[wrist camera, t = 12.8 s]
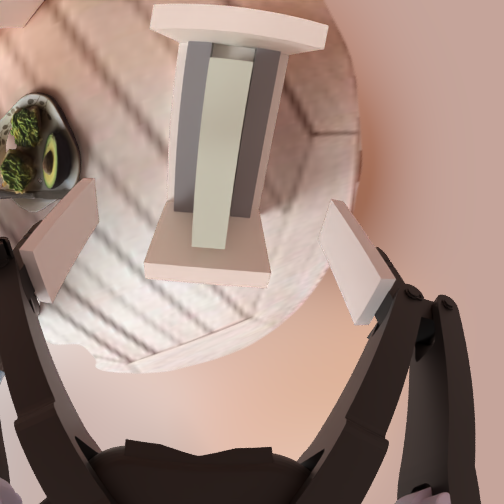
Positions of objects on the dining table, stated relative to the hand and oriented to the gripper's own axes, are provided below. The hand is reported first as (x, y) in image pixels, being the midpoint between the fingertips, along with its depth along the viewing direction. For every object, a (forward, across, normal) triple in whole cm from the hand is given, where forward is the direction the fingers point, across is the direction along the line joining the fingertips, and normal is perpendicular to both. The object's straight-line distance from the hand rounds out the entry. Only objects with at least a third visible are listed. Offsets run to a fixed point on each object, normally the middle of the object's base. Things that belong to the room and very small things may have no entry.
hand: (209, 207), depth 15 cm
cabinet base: (+21, 0, 0) cm, 21 cm away
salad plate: (+22, -27, -4) cm, 35 cm away
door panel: (+19, 0, 0) cm, 19 cm away
